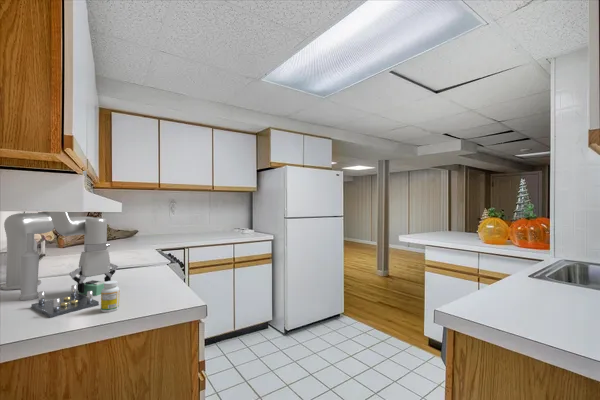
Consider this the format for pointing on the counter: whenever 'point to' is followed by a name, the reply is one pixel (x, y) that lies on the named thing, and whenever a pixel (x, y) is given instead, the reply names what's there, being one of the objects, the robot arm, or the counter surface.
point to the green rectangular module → (93, 287)
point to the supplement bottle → (110, 296)
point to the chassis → (64, 303)
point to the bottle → (29, 271)
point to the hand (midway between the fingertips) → (94, 289)
